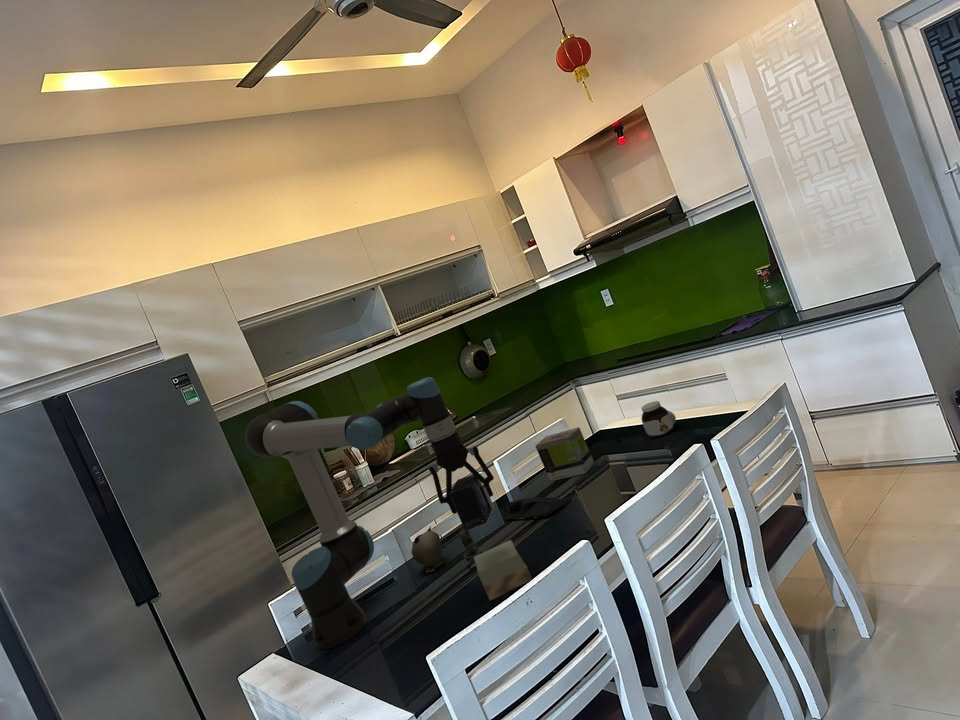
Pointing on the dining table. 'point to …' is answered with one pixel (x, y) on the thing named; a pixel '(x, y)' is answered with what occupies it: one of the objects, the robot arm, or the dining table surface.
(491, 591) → the tower bottom
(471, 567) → the dining table surface
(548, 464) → the tea box
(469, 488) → the small box
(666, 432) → the spread jar
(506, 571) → the tower top
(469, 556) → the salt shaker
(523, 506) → the dark slate chunk
